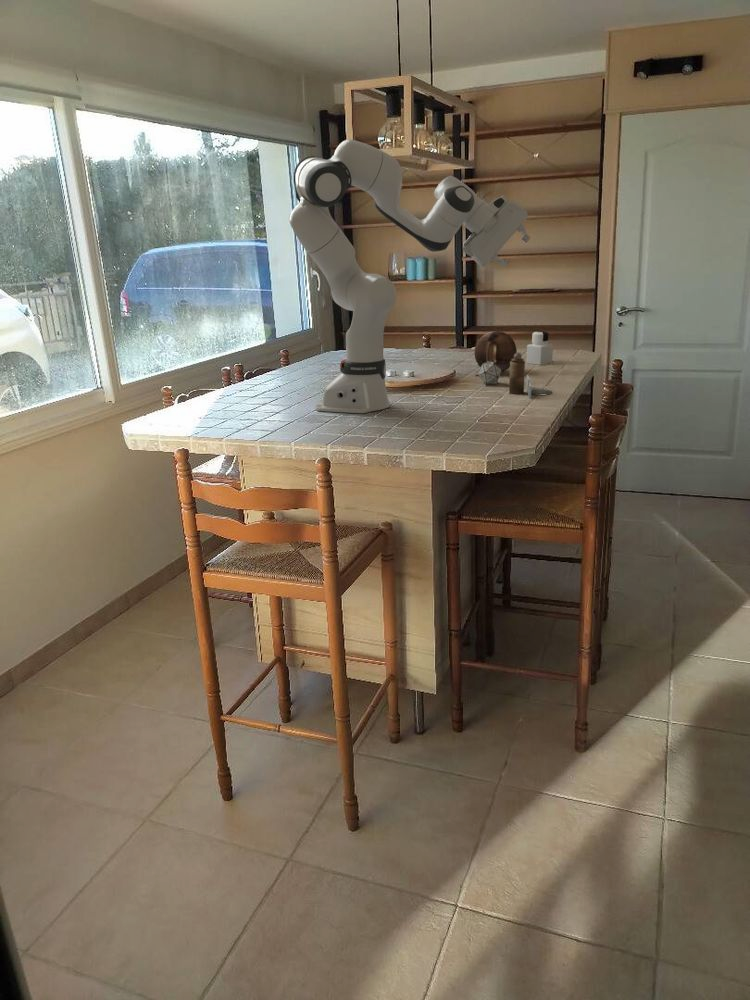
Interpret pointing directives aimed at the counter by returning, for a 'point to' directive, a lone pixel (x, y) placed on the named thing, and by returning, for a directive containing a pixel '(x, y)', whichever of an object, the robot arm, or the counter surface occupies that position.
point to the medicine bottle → (539, 349)
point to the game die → (489, 372)
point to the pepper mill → (517, 374)
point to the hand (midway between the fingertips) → (518, 252)
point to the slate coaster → (540, 391)
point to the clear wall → (528, 386)
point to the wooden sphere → (495, 349)
